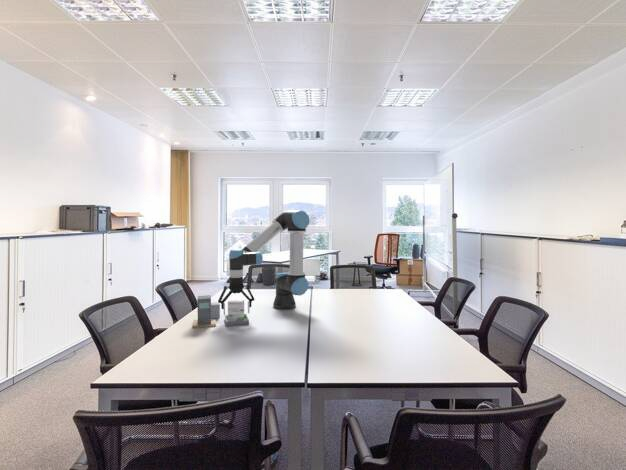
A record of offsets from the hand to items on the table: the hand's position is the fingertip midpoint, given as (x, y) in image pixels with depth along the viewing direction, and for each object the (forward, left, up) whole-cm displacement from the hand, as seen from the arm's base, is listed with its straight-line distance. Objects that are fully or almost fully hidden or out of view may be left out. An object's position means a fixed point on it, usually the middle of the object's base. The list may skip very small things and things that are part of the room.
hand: (236, 313), depth 194 cm
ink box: (0, 0, -4) cm, 4 cm away
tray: (0, 0, -5) cm, 5 cm away
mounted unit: (+18, -1, -5) cm, 18 cm away
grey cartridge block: (+12, -15, -5) cm, 20 cm away
